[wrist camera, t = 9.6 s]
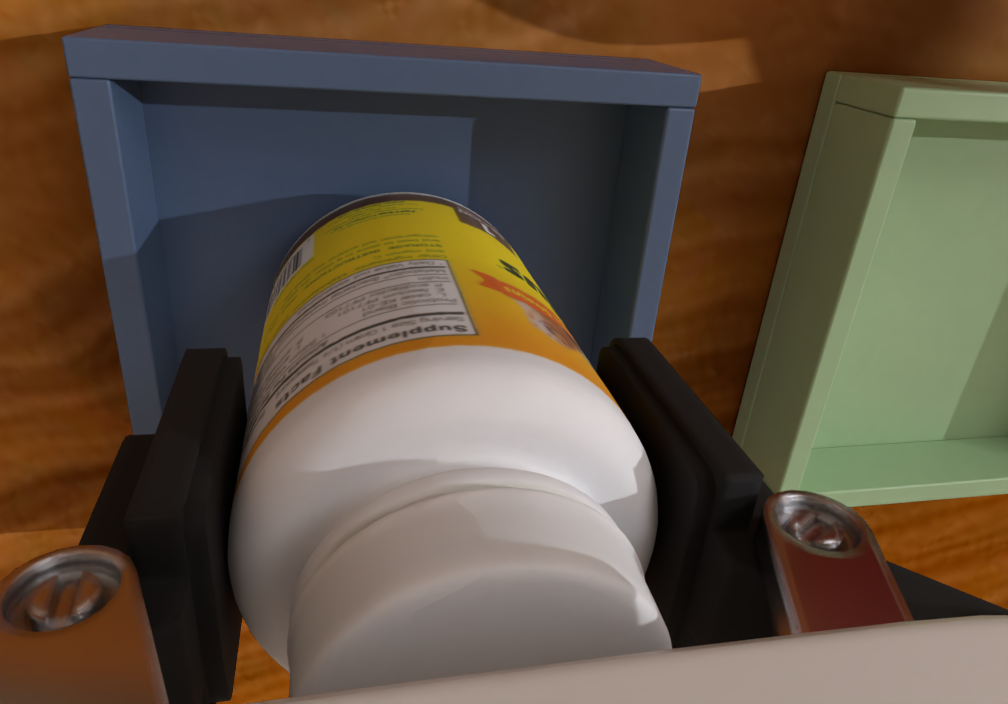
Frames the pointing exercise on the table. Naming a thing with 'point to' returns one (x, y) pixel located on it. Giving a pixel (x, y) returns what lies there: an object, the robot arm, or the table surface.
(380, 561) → the supplement bottle
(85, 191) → the table surface
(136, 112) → the slate tray
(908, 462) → the green tray
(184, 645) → the robot arm
